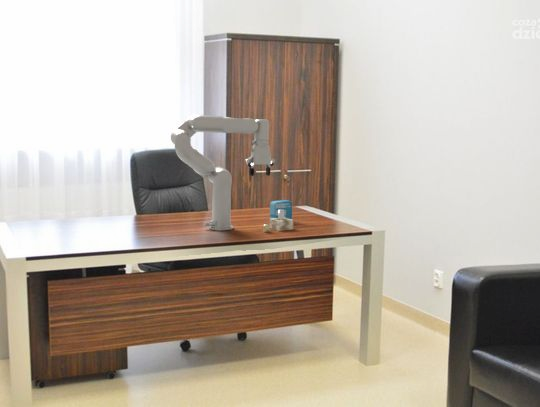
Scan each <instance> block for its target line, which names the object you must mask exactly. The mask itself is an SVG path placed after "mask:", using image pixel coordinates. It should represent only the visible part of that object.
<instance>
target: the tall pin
mask: <svg viewBox="0 0 540 407" xmlns="http://www.w3.org/2000/svg"><path fill="white" fill-rule="evenodd" d="M278 220H284V210H283V209H280V210H278Z"/></svg>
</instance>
